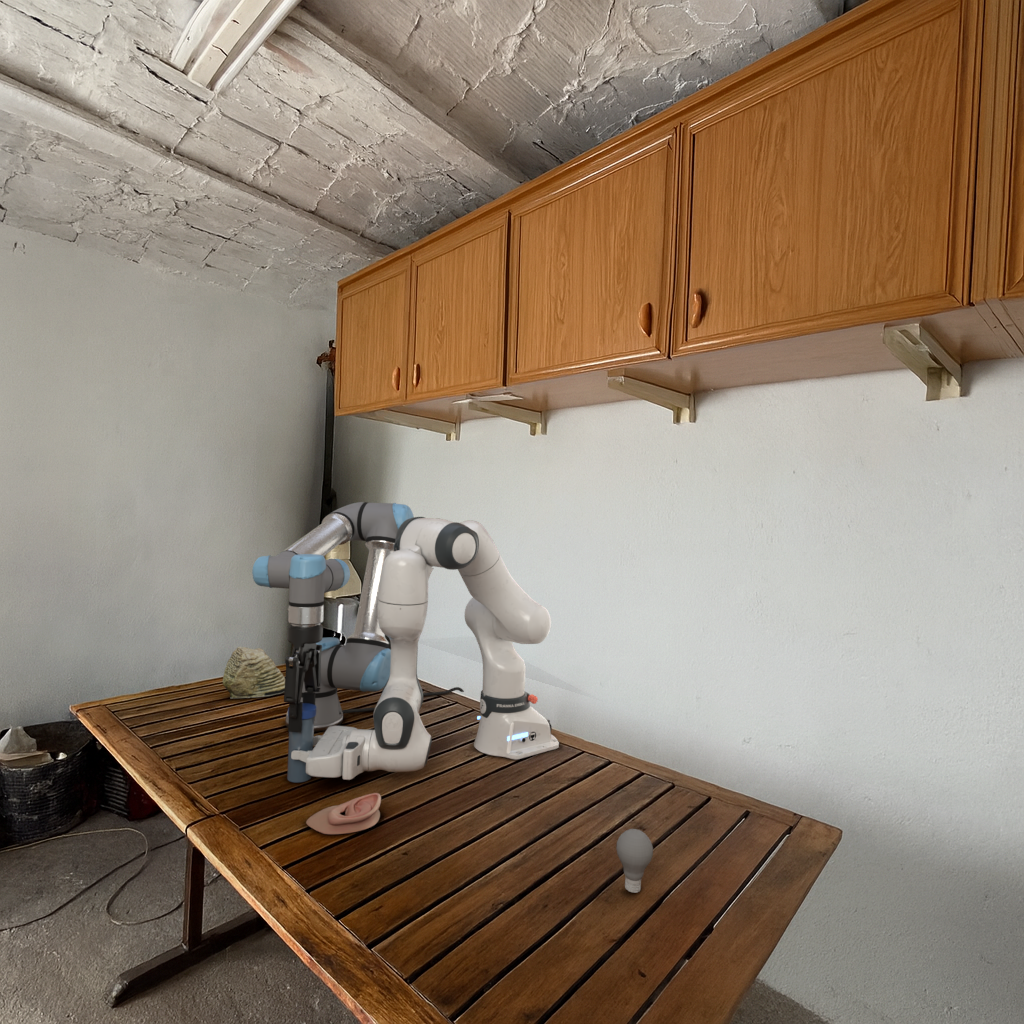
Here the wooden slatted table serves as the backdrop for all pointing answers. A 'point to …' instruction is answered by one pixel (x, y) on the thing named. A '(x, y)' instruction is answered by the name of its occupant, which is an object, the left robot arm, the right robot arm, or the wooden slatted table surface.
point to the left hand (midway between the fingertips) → (301, 725)
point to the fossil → (252, 674)
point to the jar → (305, 743)
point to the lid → (307, 711)
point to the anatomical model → (347, 816)
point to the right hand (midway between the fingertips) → (296, 748)
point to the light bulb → (634, 857)
